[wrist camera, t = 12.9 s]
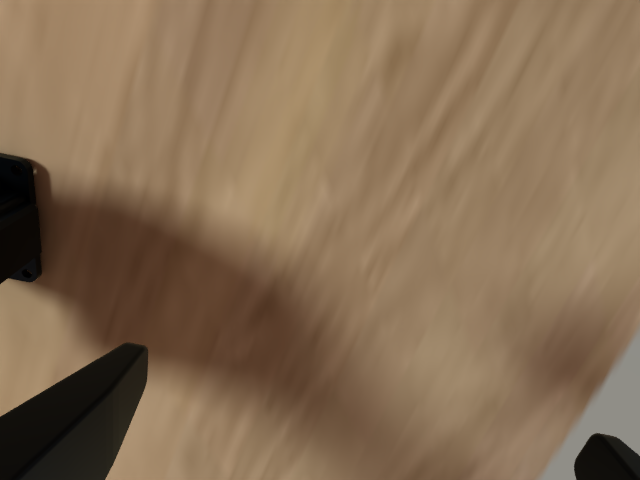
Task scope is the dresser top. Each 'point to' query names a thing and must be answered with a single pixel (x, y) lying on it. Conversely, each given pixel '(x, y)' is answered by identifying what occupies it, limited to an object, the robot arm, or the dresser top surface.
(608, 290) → the dresser top surface
